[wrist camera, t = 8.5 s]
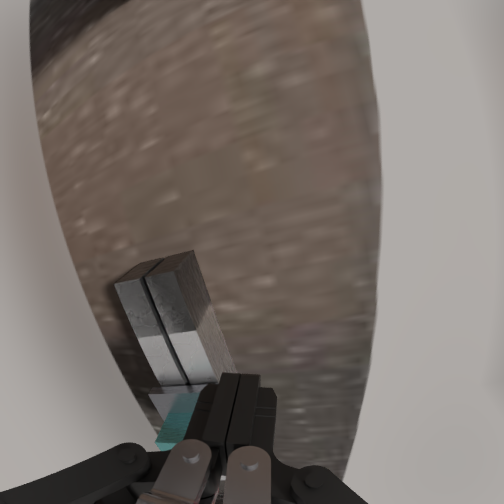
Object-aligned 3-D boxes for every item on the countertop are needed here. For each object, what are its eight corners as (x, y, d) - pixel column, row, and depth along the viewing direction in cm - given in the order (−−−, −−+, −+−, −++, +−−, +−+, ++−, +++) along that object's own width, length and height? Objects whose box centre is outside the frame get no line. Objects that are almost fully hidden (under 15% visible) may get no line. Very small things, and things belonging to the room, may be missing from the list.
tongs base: (270, 448, 27) (265, 489, 22) (225, 450, 28) (215, 489, 23) (198, 248, 22) (172, 277, 17) (140, 263, 22) (104, 291, 18)
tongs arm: (259, 426, 26) (254, 459, 22) (239, 428, 27) (232, 460, 23) (193, 250, 22) (173, 270, 18) (168, 256, 22) (144, 277, 18)
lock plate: (245, 430, 21) (237, 469, 17) (178, 432, 22) (164, 467, 18) (224, 382, 19) (212, 424, 16) (152, 387, 20) (131, 423, 17)
